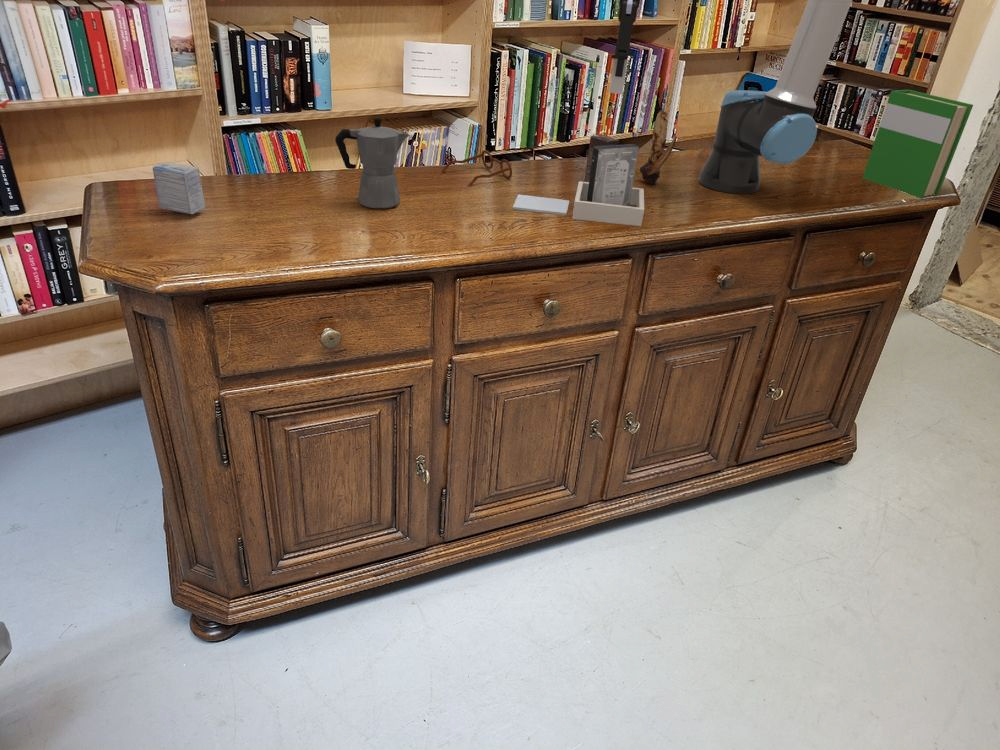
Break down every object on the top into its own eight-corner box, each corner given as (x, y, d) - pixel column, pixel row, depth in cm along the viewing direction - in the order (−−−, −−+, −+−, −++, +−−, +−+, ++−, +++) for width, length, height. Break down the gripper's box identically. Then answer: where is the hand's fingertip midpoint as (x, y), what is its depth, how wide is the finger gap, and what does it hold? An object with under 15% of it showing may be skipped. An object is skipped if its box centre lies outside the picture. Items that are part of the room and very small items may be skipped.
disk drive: (590, 215, 165) (599, 148, 157) (584, 211, 167) (592, 145, 159) (629, 212, 169) (640, 146, 161) (623, 208, 171) (633, 143, 163)
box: (612, 189, 183) (620, 139, 176) (600, 191, 180) (607, 141, 174) (595, 182, 186) (602, 133, 180) (582, 184, 184) (589, 135, 178)
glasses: (512, 181, 183) (514, 161, 181) (468, 188, 177) (469, 167, 174) (483, 167, 192) (484, 147, 190) (440, 172, 186) (440, 152, 183)
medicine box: (206, 209, 152) (199, 167, 148) (191, 215, 149) (184, 172, 144) (173, 202, 154) (166, 160, 150) (158, 208, 151) (151, 166, 146)
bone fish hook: (667, 192, 184) (682, 117, 174) (650, 192, 182) (663, 117, 173) (652, 180, 191) (664, 108, 182) (635, 180, 190) (647, 107, 181)
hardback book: (936, 200, 194) (973, 104, 181) (919, 203, 190) (955, 106, 178) (877, 180, 206) (908, 89, 194) (860, 182, 203) (891, 90, 190)
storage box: (640, 205, 173) (643, 188, 171) (641, 227, 161) (644, 209, 159) (576, 197, 175) (578, 181, 173) (572, 219, 162) (574, 201, 160)
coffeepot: (404, 193, 169) (404, 112, 159) (412, 207, 161) (413, 123, 152) (336, 195, 165) (331, 112, 155) (341, 210, 157) (336, 123, 148)
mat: (569, 202, 172) (569, 200, 171) (566, 215, 164) (566, 213, 164) (518, 196, 173) (518, 194, 172) (512, 209, 165) (512, 206, 165)
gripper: (616, -41, 150) (599, 81, 162) (615, -38, 134) (596, 96, 147) (653, -38, 149) (633, 84, 161) (656, -34, 134) (634, 101, 146)
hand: (616, 90), depth 154 cm, fingers open, 5 cm apart
